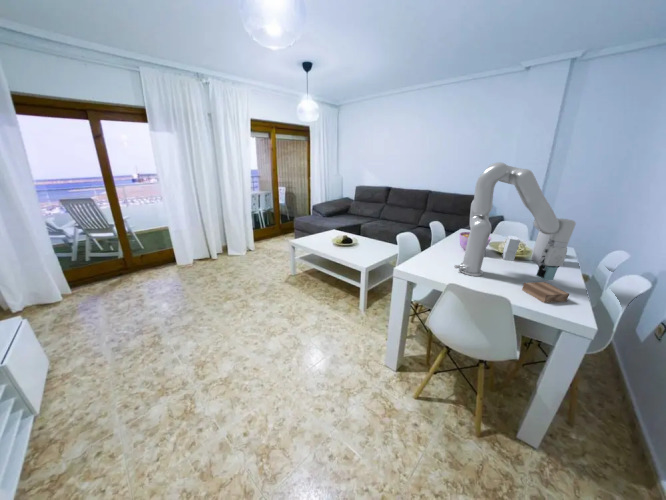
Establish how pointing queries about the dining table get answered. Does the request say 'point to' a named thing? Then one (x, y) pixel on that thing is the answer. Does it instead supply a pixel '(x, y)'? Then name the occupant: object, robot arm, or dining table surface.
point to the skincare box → (510, 248)
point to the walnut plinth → (545, 292)
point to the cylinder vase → (539, 246)
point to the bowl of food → (464, 239)
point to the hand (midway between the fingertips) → (545, 276)
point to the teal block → (549, 272)
